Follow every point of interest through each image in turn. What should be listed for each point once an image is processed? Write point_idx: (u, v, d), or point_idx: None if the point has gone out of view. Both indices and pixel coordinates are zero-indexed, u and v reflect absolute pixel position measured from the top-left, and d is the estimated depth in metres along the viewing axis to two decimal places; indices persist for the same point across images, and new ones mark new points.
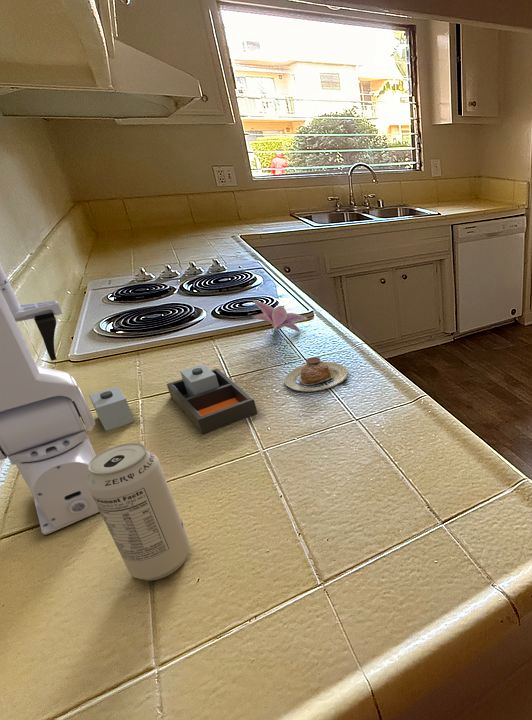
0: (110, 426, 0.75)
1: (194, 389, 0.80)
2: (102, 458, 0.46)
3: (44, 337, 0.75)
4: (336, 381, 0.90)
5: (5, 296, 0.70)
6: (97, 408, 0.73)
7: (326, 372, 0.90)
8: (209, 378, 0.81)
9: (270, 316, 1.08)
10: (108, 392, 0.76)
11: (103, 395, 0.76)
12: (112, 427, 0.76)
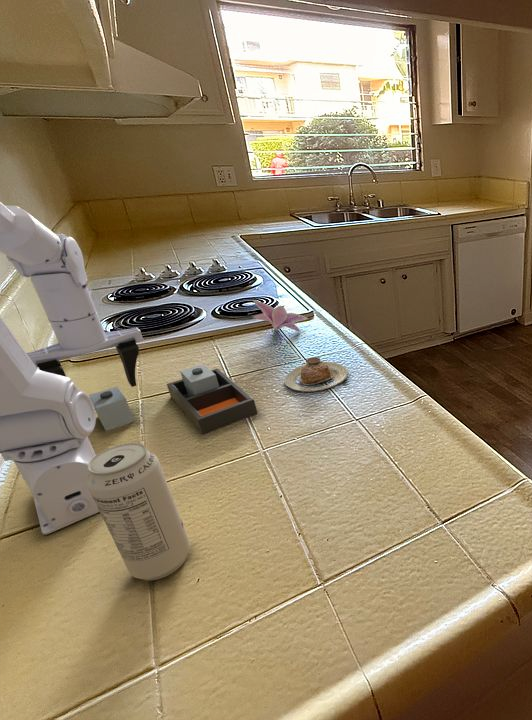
0: (110, 426, 0.75)
1: (194, 389, 0.80)
2: (102, 458, 0.46)
3: (127, 364, 0.76)
4: (336, 381, 0.90)
5: (94, 326, 0.71)
6: (97, 408, 0.73)
7: (326, 372, 0.90)
8: (209, 378, 0.81)
9: (270, 316, 1.08)
10: (108, 392, 0.76)
11: (103, 395, 0.76)
12: (112, 427, 0.76)
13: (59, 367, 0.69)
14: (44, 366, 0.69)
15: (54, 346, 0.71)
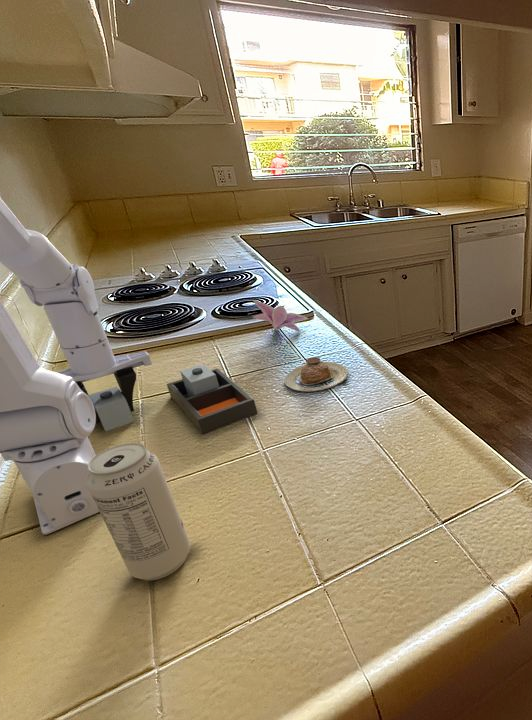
0: (110, 426, 0.75)
1: (194, 389, 0.80)
2: (102, 458, 0.46)
3: (124, 391, 0.76)
4: (336, 381, 0.90)
5: (105, 351, 0.72)
6: (97, 408, 0.73)
7: (326, 372, 0.90)
8: (209, 378, 0.81)
9: (270, 316, 1.08)
10: (108, 392, 0.76)
11: (103, 395, 0.76)
12: (112, 427, 0.76)
13: (83, 389, 0.72)
14: None
15: (65, 371, 0.73)
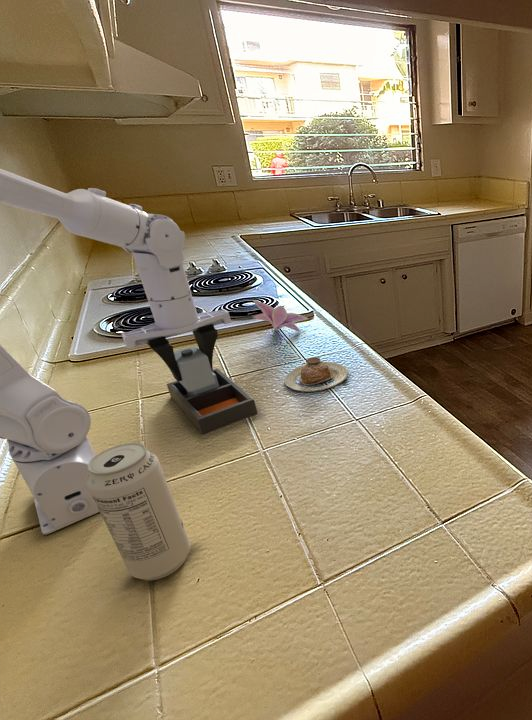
0: (192, 384, 0.74)
1: None
2: (102, 458, 0.46)
3: (206, 349, 0.75)
4: (336, 381, 0.90)
5: (190, 306, 0.71)
6: (181, 364, 0.72)
7: (326, 372, 0.90)
8: None
9: (270, 316, 1.08)
10: (188, 350, 0.75)
11: (184, 352, 0.74)
12: (194, 385, 0.74)
13: (169, 344, 0.70)
14: (154, 343, 0.70)
15: (149, 326, 0.71)
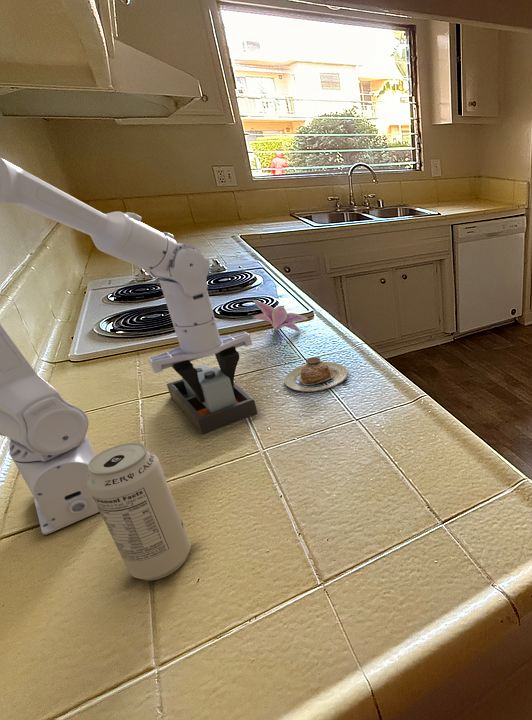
0: (214, 405, 0.76)
1: None
2: (102, 458, 0.46)
3: (228, 371, 0.77)
4: (336, 381, 0.90)
5: (213, 330, 0.73)
6: (204, 387, 0.74)
7: (326, 372, 0.90)
8: None
9: (270, 316, 1.08)
10: (211, 372, 0.77)
11: (207, 374, 0.76)
12: (216, 406, 0.76)
13: (193, 367, 0.72)
14: (179, 366, 0.72)
15: (174, 350, 0.73)
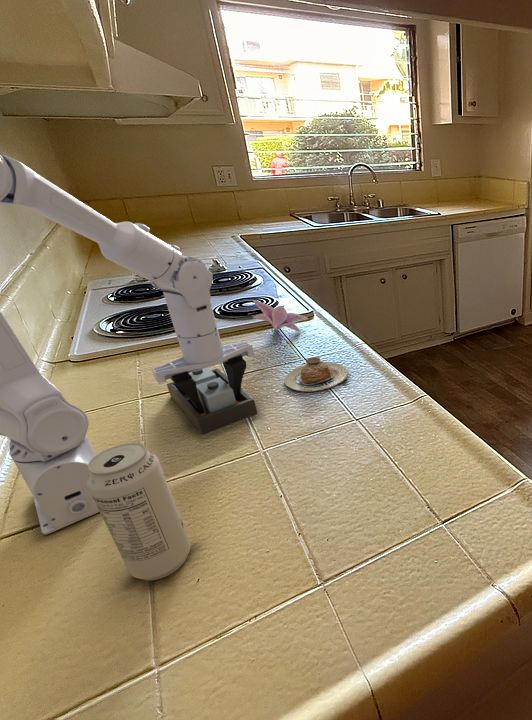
0: None
1: None
2: (102, 458, 0.46)
3: (235, 379, 0.78)
4: (336, 381, 0.90)
5: (216, 341, 0.74)
6: (208, 398, 0.75)
7: (326, 372, 0.90)
8: (209, 378, 0.81)
9: (270, 316, 1.08)
10: (214, 383, 0.78)
11: (210, 386, 0.77)
12: None
13: (192, 379, 0.73)
14: (178, 378, 0.72)
15: (177, 360, 0.74)
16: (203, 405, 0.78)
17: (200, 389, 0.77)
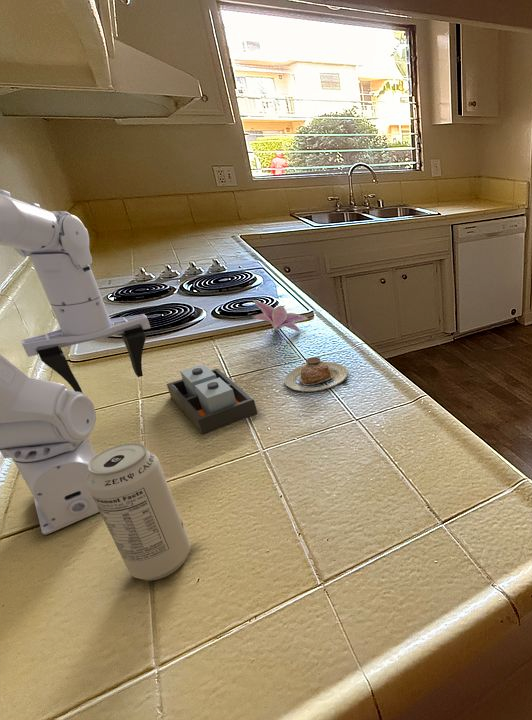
0: None
1: (194, 389, 0.80)
2: (102, 458, 0.46)
3: (133, 353, 0.71)
4: (336, 381, 0.90)
5: (98, 311, 0.66)
6: (208, 398, 0.75)
7: (326, 372, 0.90)
8: (209, 378, 0.81)
9: (270, 316, 1.08)
10: (214, 383, 0.78)
11: (210, 386, 0.77)
12: None
13: (61, 355, 0.65)
14: (45, 353, 0.64)
15: (56, 332, 0.66)
16: (203, 405, 0.78)
17: (200, 389, 0.77)
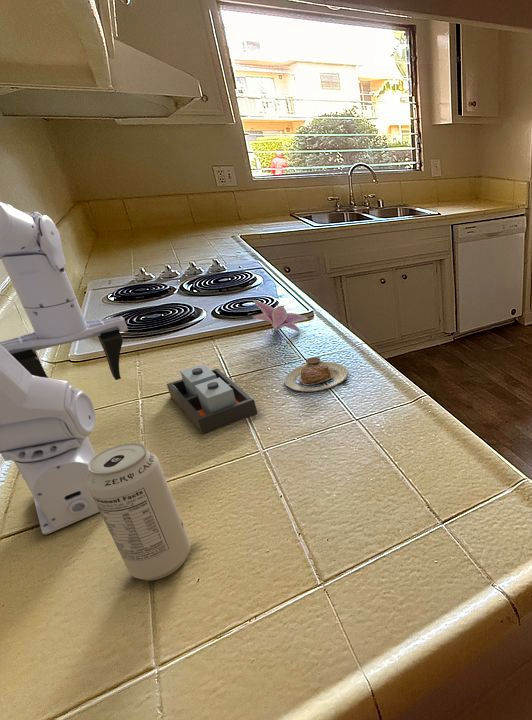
0: None
1: (194, 389, 0.80)
2: (102, 458, 0.46)
3: (110, 356, 0.70)
4: (336, 381, 0.90)
5: (73, 313, 0.65)
6: (208, 398, 0.75)
7: (326, 372, 0.90)
8: (209, 378, 0.81)
9: (270, 316, 1.08)
10: (214, 383, 0.78)
11: (210, 386, 0.77)
12: None
13: (35, 358, 0.64)
14: (18, 356, 0.63)
15: (30, 335, 0.65)
16: (203, 405, 0.78)
17: (200, 389, 0.77)
